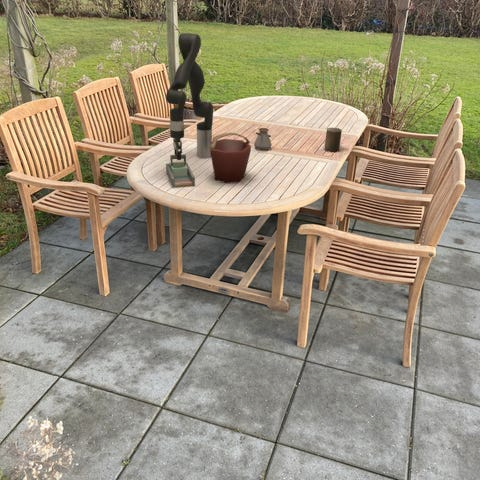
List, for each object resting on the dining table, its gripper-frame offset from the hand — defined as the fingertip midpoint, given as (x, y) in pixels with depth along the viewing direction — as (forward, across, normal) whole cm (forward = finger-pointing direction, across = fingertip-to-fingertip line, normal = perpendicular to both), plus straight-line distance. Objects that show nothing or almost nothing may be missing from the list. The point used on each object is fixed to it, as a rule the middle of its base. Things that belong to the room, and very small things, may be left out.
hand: (177, 157), depth 277 cm
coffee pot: (+10, +31, -58) cm, 67 cm away
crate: (+10, 0, 0) cm, 10 cm away
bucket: (+11, -7, -27) cm, 30 cm away
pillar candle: (+10, +24, -105) cm, 108 cm away
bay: (+11, -5, 0) cm, 12 cm away
